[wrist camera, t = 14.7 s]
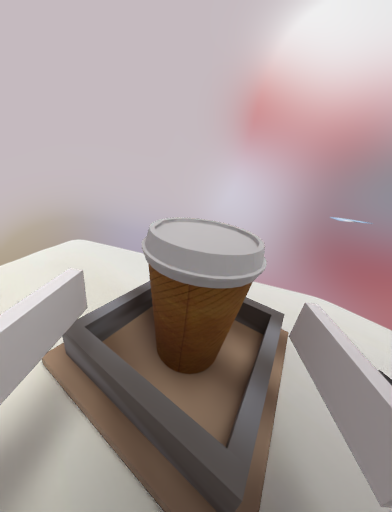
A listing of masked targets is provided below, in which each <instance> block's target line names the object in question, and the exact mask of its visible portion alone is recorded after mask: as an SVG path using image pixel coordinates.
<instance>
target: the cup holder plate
mask: <svg viewBox="0 0 392 512" xmlns="http://www.w3.org/2000/svg"><path fill="white" fill-rule="evenodd" d="M150 282H151V281H149V282H147V283H145V284H143V285H141V286H139V287H137V288H136V289H134V290H132V291H130V292H128V293H126V294H124V295H122V296H120V297H119V298H117V299H115V300H113V301H111V302H109V303H107V304H105V305H103V306H102V307H100V308H98V309H96V310H94V311H92V312H90V313H88V314H87V315H85V316H83V317H81V318H79V319H77V320H76V321H75V322H74V323H73V324H72V326H71V327H70V328H69V329H68V330H67V331H66V332H65V333H64V335H63V336H62V337H63V342H64V343H62V344H61V345H59V346H57V347H56V348H54V349H52V350H51V351H49V352H47V353H46V355H45V356H44V357H43V358H42V361H43V364H44V366H45V367H46V368H47V369H48V370H49V372H50V373H51V374H52V375H53V377H54V378H55V379H56V380H57V381H58V383H59V384H60V385H61V386H62V387H63V389H64V390H65V391H66V392H67V394H68V395H69V396H70V397H71V398H72V400H73V401H74V402H75V403H76V405H77V406H78V407H79V408H80V409H81V411H82V412H83V413H84V414H85V415H86V417H87V418H88V419H89V420H90V422H91V423H92V424H93V425H94V426H95V428H96V429H97V430H98V431H99V432H100V434H101V435H102V436H103V437H104V439H105V440H106V441H107V442H108V443H109V445H110V446H111V447H112V448H113V449H114V451H115V452H116V453H117V454H118V456H119V457H120V458H121V459H122V460H123V462H124V463H125V464H126V465H127V467H128V468H129V469H130V470H131V471H132V473H133V474H134V475H135V476H136V477H137V479H138V480H139V481H140V482H141V484H142V485H143V486H144V487H145V488H146V490H147V491H148V492H149V493H150V494H151V496H152V497H153V498H154V499H155V501H156V502H157V503H158V504H159V505H160V507H161V508H162V509H163V510H164V512H259V508H260V502H261V496H262V490H263V484H264V478H265V472H266V466H267V460H268V454H269V447H270V441H271V435H272V429H273V423H274V417H275V411H276V405H277V399H278V393H279V387H280V381H281V375H282V368H283V362H284V356H285V350H286V344H287V338H288V332H287V331H284V330H282V329H281V327H282V322H283V318H284V314H283V313H280V312H278V311H276V310H274V309H271V308H269V307H267V306H264V305H262V304H260V303H258V302H255V301H253V300H251V299H248V298H246V297H245V299H244V301H243V303H242V305H241V307H240V310H239V312H238V314H237V316H236V318H235V320H234V322H233V324H232V326H231V328H230V330H229V332H228V334H227V336H226V338H225V341H224V343H223V345H222V347H221V349H220V351H219V353H218V355H217V357H216V360H215V361H214V363H213V364H212V365H211V366H210V367H209V368H207V369H206V370H204V371H202V372H199V373H194V374H185V373H180V372H177V371H174V370H173V369H171V368H169V367H168V366H167V365H165V363H164V362H163V361H162V360H161V359H160V357H159V355H158V352H157V345H156V335H155V325H154V315H153V312H154V311H153V304H152V296H151V295H152V293H151V285H150Z"/></svg>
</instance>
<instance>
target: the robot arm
mask: <svg viewBox="0 0 392 512" xmlns="http://www.w3.org/2000/svg"><path fill="white" fill-rule="evenodd" d="M86 309H87V300H86V292H85V283H84V275H83V270H80V269H73V268H69V269H67V270H66V271H64V272H63V273H61V274H60V275H58V276H57V277H55V278H54V279H52V280H51V281H49V282H48V283H46V284H45V285H43V286H42V287H40V288H39V289H37V290H36V291H34V292H33V293H31V294H30V295H28V296H27V297H25V298H24V299H22V300H21V301H19V302H18V303H16V304H15V305H13V306H12V307H10V308H9V309H7V310H6V311H4V312H3V313H1V314H0V405H1V404H2V403H3V401H4V400H5V399H6V398H7V397H8V396H9V395H10V394H11V393H12V391H13V390H14V389H15V388H16V387H17V386H18V385H19V384H20V382H21V381H22V380H23V379H24V378H25V377H26V376H27V375H28V374H29V372H30V371H31V370H32V369H33V368H34V367H35V366H36V365H37V364H38V362H39V361H40V360H41V359H42V358H43V357H44V356H45V355H46V353H47V352H48V351H49V350H50V349H51V348H52V347H53V346H54V345H55V343H56V342H57V341H58V340H59V339H60V338H61V337H62V336H63V335H64V333H65V332H66V331H67V330H68V329H69V328H70V327H71V326H72V324H73V323H74V322H75V321H76V320H77V319H78V318H79V317H80V316H81V314H82V313H83V312H84V311H85V310H86ZM289 337H290V339H291V341H292V343H293V345H294V347H295V348H296V350H297V352H298V354H299V356H300V358H301V360H302V361H303V363H304V365H305V367H306V369H307V371H308V373H309V374H310V376H311V378H312V380H313V382H314V384H315V385H316V387H317V389H318V391H319V393H320V395H321V397H322V398H323V400H324V402H325V404H326V406H327V408H328V410H329V411H330V413H331V415H332V417H333V419H334V421H335V422H336V424H337V426H338V428H339V430H340V432H341V434H342V435H343V437H344V439H345V441H346V443H347V445H348V446H349V448H350V450H351V452H352V454H353V456H354V458H355V459H356V461H357V463H358V465H359V467H360V469H361V471H362V472H363V474H364V476H365V478H366V480H367V482H368V483H369V485H370V487H371V489H372V491H373V493H374V495H375V496H376V498H377V500H378V502H379V504H380V506H381V507H389V508H392V380H391V379H390V378H389V377H388V376H386V375H385V374H384V373H383V372H381V371H380V370H377V369H376V368H375V367H374V366H373V364H372V363H371V362H370V361H369V360H368V359H367V358H366V357H365V356H364V355H363V353H362V352H361V351H360V350H359V349H358V348H357V347H356V346H355V345H354V343H353V342H352V341H351V340H350V339H349V338H348V337H347V336H346V335H345V334H344V332H343V331H342V330H341V329H340V328H339V327H338V326H337V325H336V324H335V323H334V321H333V320H332V319H331V318H330V317H329V316H328V315H327V314H326V313H325V312H324V310H323V309H322V308H321V307H320V306H319V305H318V304H313V303H306V302H305V304H304V306H303V308H302V310H301V312H300V314H299V316H298V319H297V321H296V323H295V325H294V327H293V329H292V331H291V333H290V335H289Z"/></svg>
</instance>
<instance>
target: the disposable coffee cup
mask: <svg viewBox="0 0 392 512" xmlns="http://www.w3.org/2000/svg"><path fill="white" fill-rule="evenodd" d="M264 246H265V245H264V242H263V241H262V240H261V239H260V238H259V237H258V236H256V235H254V234H253V233H251V232H248V231H246V230H244V229H241V228H238V227H235V226H232V225H229V224H225V223H221V222H216V221H210V220H203V219H195V218H167V219H161V220H157V221H155V222H153V223H151V224H150V227H149V230H148V234H147V236H146V237H145V238H144V239H143V241H142V250H143V252H144V255H145V257H146V260H147V262H148V263H149V273H150V275H149V276H150V281H151V282H150V285H151V293H152V295H151V296H152V304H153V311H154V312H153V315H154V325H155V335H156V345H157V352H158V355H159V357H160V359H161V360H162V361H163V362H164V363H165V365H167V366H168V367H169V368H171V369H173V370H174V371H177V372H180V373H185V374H194V373H199V372H202V371H204V370H206V369H207V368H209V367H210V366H211V365H212V364H213V363H214V361H215V360H216V357H217V355H218V353H219V351H220V349H221V347H222V345H223V343H224V341H225V338H226V336H227V334H228V332H229V330H230V328H231V326H232V324H233V322H234V320H235V318H236V316H237V314H238V312H239V310H240V307H241V305H242V303H243V301H244V299H245V297H246V295H247V293H248V291H249V288H250V286H251V284H252V282H253V281H254V280H255V279H256V278H257V277H258V276H259V275H260V274H261V273H262V272H263V271H264V270H265V267H266V265H267V264H266V259H265V257H264V248H265V247H264Z"/></svg>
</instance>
